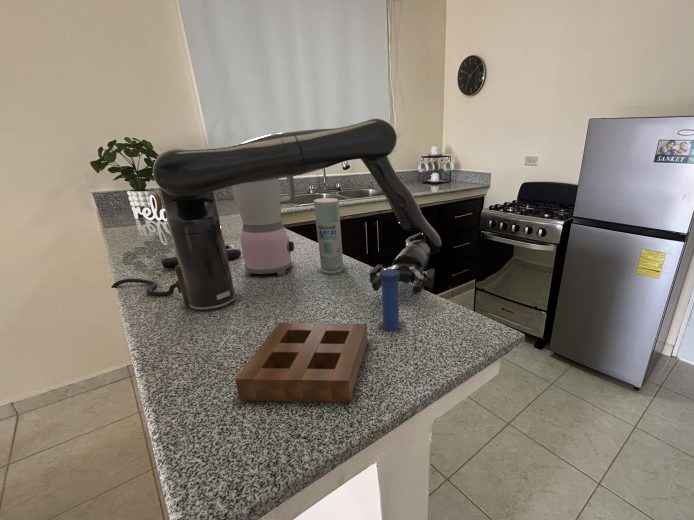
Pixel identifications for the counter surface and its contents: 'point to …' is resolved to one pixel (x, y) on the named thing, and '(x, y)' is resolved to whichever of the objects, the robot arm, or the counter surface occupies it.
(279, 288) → the counter surface
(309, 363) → the holder
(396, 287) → the blue peg
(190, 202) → the robot arm
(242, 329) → the counter surface
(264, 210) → the blender
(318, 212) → the spray can
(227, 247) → the door handle
